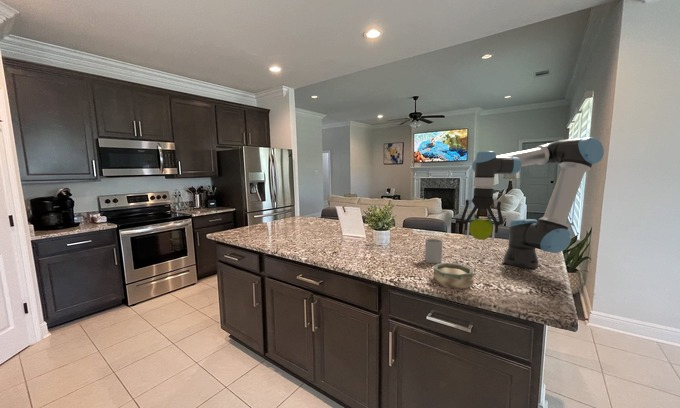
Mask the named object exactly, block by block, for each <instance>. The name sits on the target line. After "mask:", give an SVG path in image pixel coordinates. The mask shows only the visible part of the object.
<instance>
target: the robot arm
mask: <svg viewBox="0 0 680 408" xmlns="http://www.w3.org/2000/svg"><path fill="white" fill-rule="evenodd" d="M604 154H605V149H604V146H603V143H602V142H601V140H600V139H598V138H596V137H594V136H593V137H592V136H591V137H590V136H587V137H585V136H584V137H578V138H571V139H570V138H569V139H560V140H555V141H551V142H549V143H545V144H541V145H537V146H535V147H534V148H529V149H525V150H520V151H515V152H514V151H513V152H509V153H504V154H503V153H502V154H498V155H497V153H496V151H495V150H480V151H478V152H477V153H476V156H475V159H474V160H473V162H472V164H471V168H472V170H473V172H474V181H473V182H474V184H473V186H474V188H473V197H472V198H471V199H465V206H464V208H463V209H464V210H463V212H462V214H461V217H460V218H461V219H460V222H463V223H464V231H467V232H466V239H469V238H470V237H469V236H470V230H469V227H470V223H471V222H470V220H472V219H471V218H473V216H474V214H475V212H476V211H477V210H487V211H488V213H489V215H490V218H492V219H491V220H492V221H493V223H494V224H492V225H493V231H492V234H491V241H492V242H494V241H495V234H498V231H499V226H501V225H504V220H503V215H502V210H501V205H502V201H500V200H494V186H495V175H516V174H518V173H519V172H520V171H521V169H522V167H527V166H531V165H539V166H540V165H541V166H542V165H559V166H560V167H559V168H560V172H559V175H558V177H557V180H556V182H555V184H554V188H553V191H552V194H551V196H550V198H549V201H548V204H547V207H546V209H545V213H544V214H543V216H542V217H540V218H538V220H537V219H535V218H534V219H531V218H528V219H527V218H526V219H525V218H524V219H521V218H520V219H518V218H517V219H516V218H515V219H512V220H511V221H509V229H508V232H509V234H508V246H507V249H506V252H505V254H504V256H503V262H504V263H505V264H507V265H509V266H513V267H518V268H522V269H524V268H525V269H534V268H539V259H538V256H537V253H536V252H537V251H536V249H538V250H540V251H544V252H545V253H546V252H547V253H552V254H559V253H562V252H563V251H564V250H566V249H567V248H568V247H569V245H570V244H571V242H572V237H571V235H572V234H571V232H570V231H569V225H568V224H567V221H568V218H569V215H570V212H571V210H572V207H573V204H574V201H576V200H575V199H576V196H577V194H578V192H579V188H580V185H581V184H582V181H583V178H584V176H585V173H587V172H589V171H591V169H592V166H593V164H594V165H595V164H597V163H600V161H602V159H603V158H604ZM471 203H472V204H473V205H474V206H473V208H472V210H471V211H470V213H469V214H468V216H467V217H466V215H467V211H468V208H469V206H470V205H471ZM493 204H494V206H495V207H496V211H497V216H498V220H499V221H498V220H497V218H496V217H495V214H494V213H493V211H492V208H491V206H492V205H493Z"/></svg>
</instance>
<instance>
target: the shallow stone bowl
mask: <svg viewBox="0 0 680 408" xmlns="http://www.w3.org/2000/svg"><path fill="white" fill-rule="evenodd" d="M434 264H435V265H434V267H433V279H432V280H433V281H434V282H435V283H436V284H437V285H440V286H442V287H446V288H450V289H458V290H459V289H469V288H471V287H473V285H474V273H473V272H474V269H473V268H471V267H468V266H467V265H464V264H460V263H454V262H453V263H451V262H441V263H434Z"/></svg>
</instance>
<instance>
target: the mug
mask: <svg viewBox="0 0 680 408" xmlns="http://www.w3.org/2000/svg"><path fill="white" fill-rule="evenodd" d="M424 246H425V247H424V249H425V250H424V251H425V252H424V261H425V262H426V263H429V264H441V263H443V260H442V259H443V240H440V239H436V238H428V239H426V240H425V245H424Z"/></svg>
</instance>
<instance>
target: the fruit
mask: <svg viewBox="0 0 680 408" xmlns="http://www.w3.org/2000/svg"><path fill="white" fill-rule="evenodd" d="M470 220H472V221H470V222H469V223H470V226H469V234H471V236H472V237H473V238H474V239H475V240H479V241H485V240H488V239H489V238H490V237H491V236H492V231H493V225H494V224H493V223H492V221H491V220H493V219H492V217H488V218H486V219H485V218H483V216H481V217H480V218H477V217H471V219H470Z"/></svg>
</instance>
